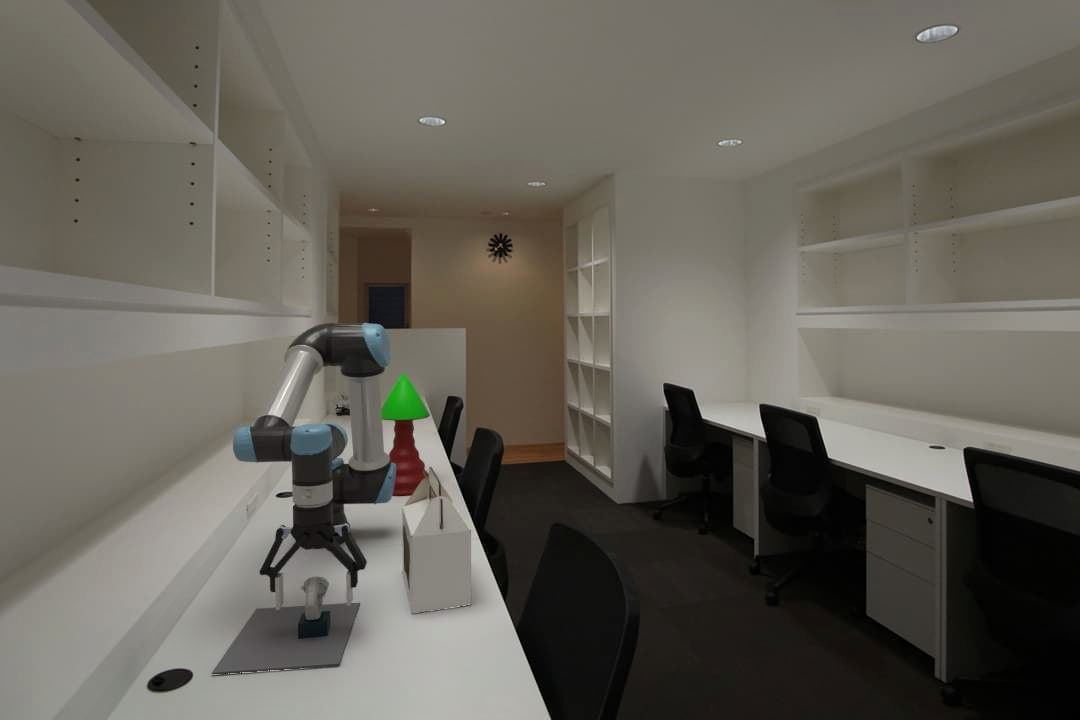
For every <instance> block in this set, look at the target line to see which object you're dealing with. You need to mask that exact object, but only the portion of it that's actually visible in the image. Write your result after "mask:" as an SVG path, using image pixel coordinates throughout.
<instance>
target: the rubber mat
mask: <svg viewBox="0 0 1080 720" xmlns="http://www.w3.org/2000/svg"><path fill="white" fill-rule="evenodd" d="M305 606H306V605H296V606H295V605H294V606H282V607H281V609H280V610H276V606H275V607H262V608H261V607H260V608H259V607H258V608H255V609H254V611H253V613H252V614H251V615H250V617H249V618H248V620H247V622H246V623H245V624H244V626H243V627H242V628H241V629H240V631H239V633H238V635H237V636H236V637H235V639H233V641H232V643H231V644H230V646H229V647H228V648H227V650H226V651H225V653H224V655H223V656H222V657H221V659H220V660H219V662H218V663H217V665H216V666H215V667H214V668H213V670H212V672H211V675H212V674H228V673H229V674H230V673H240V672H241V673H242V672H257V671H268V670H269V671H270V670H284V669H300V668H314V669H325V668H326V667H327V668H339V667H340V666H341V663H342V660H343V657H344V654H345V650H346V648H347V646H348V642H349V638H350V636H351V633H352V629H353V627H354V625H355V622H354V621H356V619H355V618H357V616H356V615H358V613H357V612H359V609H360V606H361V602H352V603H351V605H350V606H347V602H346V603H345V602H344V603H328V604H326V603H325V604H322V611H330V629H329V632H328V636H324V637H314V638H304V639H298V622H299V620H300V617H301V614H302V613H305ZM322 611H321V612H322ZM338 666H339V667H338ZM322 667H323V668H322ZM324 667H325V668H324Z"/></svg>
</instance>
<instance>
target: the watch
mask: <svg viewBox="0 0 1080 720" xmlns="http://www.w3.org/2000/svg"><path fill="white" fill-rule="evenodd" d="M329 585H330V581H329V580H328V579H327V578H325V577H322V576H318V575H317V576H311V577H308V578H307V579H305V580H304V582H303V585H301V586H300V590H302V591H303V592H304V593H305V605H304V606H305V613H302V614H301V617H300V620H299V622H298V639H304V638H314V637H324V636H328V632H329V629H330V611H322V605H323V603H324V602H323V600H324V598H325V596H326V594H327V591H328V590H329ZM321 611H322V612H321Z"/></svg>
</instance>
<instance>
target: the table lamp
mask: <svg viewBox="0 0 1080 720" xmlns="http://www.w3.org/2000/svg"><path fill="white" fill-rule="evenodd" d="M421 398H422V397H421V396H420V395H419V392H418V391H417V389H416V388H415V386H414V385H413V383H412V382H411V380H410V379H409V377H408V376H407V375H406V374H405V372H404V371H403V373H402V374H401V375H400V376H399V378H398V380H397V382H396V383H395V384H394V386H393V387H392V389H391V391H390V392H389V394H388V396H387V398H386V400H385V401H384V402H383V405H382V406H381V409H382V421H383V420H384V421H393V422H394V426H393V432H394V437H393V440H392V441H393V442H392V443H393V446H392V449H391V450H390V451H389V453H388V455H389V457H390V463H391V462H392V463H395V464H396V478H395V485H394V490H393V494H392V496H409V495H410V496H411V495H412V494H413V492H414V491H415V489H416V488H417V486H418V485H419V483H420V482H421V481H422V480H423V479H424V478H426V477H428V476H429V471H427V470H425V468H426V464H425V462H424V461H423V460H422V459H421V458H420V451H419V450H418V449H417V448H416V440H415V438H414V430H415V427H414V426H415V425H414V423H413V422H414V420H415V421H416V420H418V421H419V420H422V419H427V418H429V417H430V416H431V414H430V412H429V410H428V409H427V407H426V405H425V403H424V402H423V399H421ZM423 471H424V473H425V475H426V477H425V475H424V473H423Z"/></svg>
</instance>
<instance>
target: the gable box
mask: <svg viewBox="0 0 1080 720" xmlns="http://www.w3.org/2000/svg"><path fill="white" fill-rule="evenodd" d="M423 473H424V471H423ZM428 473H429V476H428V477H426V475H425V473H424V475H425V477H426V478H424V479H423V480H422V481H421V482H420V483H419V485H418V486H417V488H416V489H415V491H414V492H413V494H411V495H410V497H409V498H408V500H407V501H406V503H405V504H404V505H403V506H402V507H401V513H402V523H401V525H402V529H401V530H402V575H403V581H404V586H405V590H406V595H407V599H408V600H407V601H408V604H410V605H409V607H410V613H411V614H412V613H417V614H419V613H418V612H424V613H426V612H425V611H431V610H438V609H445V608H450V607H457V606H463V605H468V604H471V605H472V529H471V528H470V526H469V524H468V523H467V522H466V519H465V518H464V516H463V514H462V513H461V511H460V510H459V508H458V506H457V504H456V502H454V501H453V499H452V498H451V496H450V495H449V493H448V491H447V490H446V489H445V488H444V486H443V484H442V483H441V480H440V479H439V477H438V475H437V474H436V472H435V471H434V468H433V467H432V466H429V467H428ZM445 610H446V609H445ZM438 611H439V610H438ZM431 612H432V611H431Z"/></svg>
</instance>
